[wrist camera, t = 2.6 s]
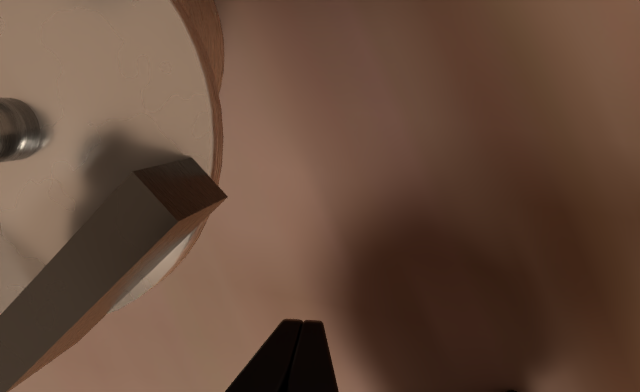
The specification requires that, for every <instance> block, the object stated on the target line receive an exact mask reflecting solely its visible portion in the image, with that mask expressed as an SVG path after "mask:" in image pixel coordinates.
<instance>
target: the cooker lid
mask: <svg viewBox="0 0 640 392" xmlns="http://www.w3.org/2000/svg"><path fill="white" fill-rule="evenodd" d="M222 153H223V126H222V112H221V105H220V100H219V94H218V89H217V84H216V79H215V76H214V73H213V70H212V67H211V64H210V61H209V58H208V54H207V51H206V49H205V47H204V45H203V43H202V40H201V38H200V36H199V34H198V32H197V29H196V27H195V25H194V23H193V22H192V20H191V18H190V17H189V15H188V13H187V12H186V10H185V8H184V7H183V5H182V4H181V2H180V0H0V313H2V314H1V315H0V392H9V391H10V390H11V389H13V388H14V387H16V386H17V385H18V384H20V383H21V382H23V381H24V380H25V379H27V378H28V377H30V376H31V375H32V374H34V373H35V372H37V371H38V370H39V369H41V368H42V367H44V366H45V365H46V364H48V363H49V362H51V361H52V360H53V359H55V358H56V357H58V356H59V355H60V354H62V353H63V352H65V351H66V350H67V349H69V348H70V347H72V346H73V345H74V344H76V343H77V342H78V341H79V340H80V339H81V338H82V337H84V336H85V335H86V334H87V333H88V332H89V331H90V330H91V329H92V328H93V327H94V326H95V325H96V324H97V323H98V322H99V321H100V320H101V319H102V318H103V317H104V316H105V315H106V314H108V313H111V312H114V311H116V310H119V309H120V308H122V307H124V306H126V305H127V304H129V303H131V302H132V301H134V300H136V299H138V298H139V297H140V296H142V295H143V294H145V293H146V292H147V291H149V290H150V289H152V288H153V287H154V286H156V285H157V284H158V283H159V282H161V281H162V280H163V279H164V278H166V277H167V276H168V275H169V274H170V273H172V271H173V270H174V269H175V268H176V267H177V266H178V265H179V264H180V263H181V261H182V260H183V259H184V258H185V257H186V256H187V254H188V253H189V251H190V250H191V248H192V247H193V245H194V244H195V242H196V241H197V239H198V238H199V236H200V234H201V232H202V230H203V228H204V226H205V224H206V221H207V219H208V217H209V215H210V214H211V213H212V212H213V211H214V210H215V209H216V208H217V207H218V206H219V205H220V204H221V203H222V202H223V201H224V200H225V199H226V198H227V197H228V196H227V195H226V194H225V193H224V192H223V191H222V190H221V189H220V188H219V187H218V184H219V178H220V173H221V167H222Z"/></svg>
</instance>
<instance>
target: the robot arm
mask: <svg viewBox="0 0 640 392" xmlns="http://www.w3.org/2000/svg"><path fill="white" fill-rule="evenodd" d="M225 392H339V391H338V387H337V383H336V378H335V374H334V369H333V365H332V360H331V356H330V352H329V347H328V343H327V338H326V334H325V329H324V325H323V323H322V321H316V320H305V321H304V322H303V321H302V320H298V319H284V320H283V321H282V322H281V323H280V324H279V325H278V327H277V328H276V329H275V330H274V332H273V333H272V334H271V335H270V336H269V338H268V339H267V340H266V341H265V343H264V344H263V345H262V346H261V348H260V349H259V350H258V351H257V353H256V354H255V355H254V356H253V358H252V359H251V360H250V361H249V363H248V364H247V365H246V366H245V367H244V369H243V370H242V371H241V372H240V374H239V375H238V376H237V377H236V379H235V380H234V381H233V382H232V384H231V385H230V386H229V387H228V389H227V390H226V391H225ZM506 392H517V391H514V390H509V391H506Z"/></svg>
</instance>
